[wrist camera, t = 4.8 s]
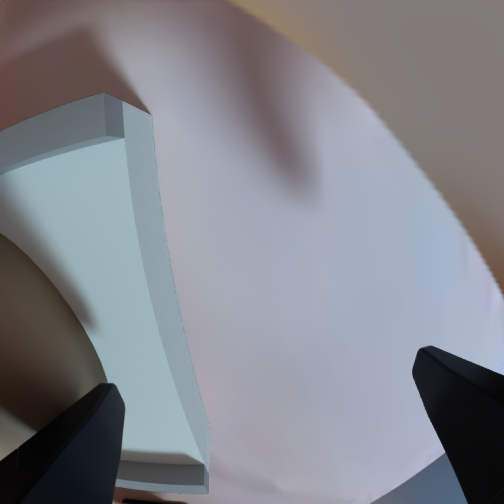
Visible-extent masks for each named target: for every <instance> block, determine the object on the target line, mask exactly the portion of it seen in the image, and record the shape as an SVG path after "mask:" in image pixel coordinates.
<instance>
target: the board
mask: <svg viewBox="0 0 504 504" xmlns="http://www.w3.org/2000/svg"><path fill="white" fill-rule="evenodd" d="M0 233H1V234H2V235H4V236H5V237H6V238H8V239H9V240H11V241H12V242H13V243H14V244H16V245H17V246H18V247H19V248H20V249H21V250H22V251H23V252H24V253H25V254H27V255H28V256H29V257H30V258H31V260H32V261H33V262H34V263H35V264H36V265H37V266H38V267H39V268H40V269H41V270H42V271H43V272H44V274H45V275H46V276H47V277H48V278H49V280H50V281H51V282H52V283H53V285H54V286H55V287H56V288H57V289H58V291H59V292H60V294H61V295H62V296H63V298H64V299H65V300H66V302H67V303H68V305H69V306H70V307H71V309H72V310H73V312H74V313H75V315H76V317H77V318H78V320H79V321H80V323H81V324H82V326H83V327H84V329H85V331H86V333H87V335H88V337H89V338H90V340H91V342H92V344H93V346H94V348H95V350H96V352H97V354H98V357H99V359H100V361H101V363H102V366H103V369H104V372H105V375H106V377H107V382H108V383H114V384H115V385H116V386H117V388H118V390H119V392H120V394H121V397H122V399H123V401H124V403H125V419H124V429H123V439H122V450H121V457H120V463H119V468H118V473H117V479H116V484H115V486H116V487H122V488H129V489H136V490H145V491H154V492H166V493H185V494H209V444H210V428H209V425H208V421H207V418H206V415H205V411H204V408H203V404H202V401H201V397H200V394H199V390H198V387H197V383H196V379H195V375H194V371H193V368H192V364H191V360H190V356H189V351H188V347H187V343H186V339H185V335H184V330H183V326H182V321H181V317H180V312H179V307H178V302H177V298H176V293H175V287H174V282H173V277H172V272H171V266H170V260H169V255H168V249H167V243H166V237H165V230H164V224H163V217H162V210H161V202H160V195H159V187H158V178H157V170H156V160H155V150H154V139H153V127H152V115H150V114H148V113H146V112H144V111H142V110H140V109H138V108H136V107H134V106H132V105H130V104H128V103H126V102H124V101H122V100H120V99H117V98H115V97H113V96H111V95H109V94H107V93H105V92H103V93H99V94H96V95H93V96H89V97H86V98H83V99H80V100H77V101H74V102H71V103H68V104H65V105H62V106H59V107H56V108H54V109H51V110H48V111H46V112H43V113H41V114H38V115H36V116H33V117H31V118H28V119H26V120H24V121H22V122H19V123H17V124H15V125H13V126H10V127H8V128H6V129H4V130H2V131H0Z"/></svg>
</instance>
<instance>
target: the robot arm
mask: <svg viewBox="0 0 504 504" xmlns="http://www.w3.org/2000/svg"><path fill="white" fill-rule="evenodd" d="M412 375H413V379H414V381H415V384H416V386H417V389H418V391H419V394H420V396H421V399H422V401H423V404H424V407H425V410H426V412H427V414H428V417H429V419H430V421H431V423H432V425H433V427H434V429H435V431H436V433H437V435H438V437H439V439H440V441H441V444H442V446H443V448H444V450H445V452H446V454H447V456H448V458H449V461H450V463H451V465H452V467H453V470H454V472H455V474H456V476H457V479H458V481H459V483H460V486H461V488H462V491H463V493H464V496H465V498H466V500H467V503H468V504H504V375H502V374H499V373H497V372H494V371H492V370H489V369H487V368H484V367H482V366H480V365H477V364H475V363H472V362H470V361H467V360H465V359H463V358H460V357H458V356H455V355H453V354H451V353H448V352H446V351H443V350H441V349H439V348H436V347H434V346H426V347H423V348H420V349H419V350H418V352H417V355H416V359H415V362H414V365H413V369H412ZM124 419H125V403H124V401H123V399H122V397H121V394H120V392H119V390H118V388H117V386H116V385H115V384H114V383H108V382H101V383H99V384H98V385H97V386H96V387H94V388H93V389H92V390H90V391H89V392H88V393H87V394H85V395H84V396H83V397H82V398H80V399H79V400H78V401H77V402H75V403H74V404H73V405H71V406H70V407H69V408H68V409H66V410H65V411H64V412H63V413H61V414H60V415H59V416H57V417H56V418H55V419H54V420H52V421H51V422H50V423H48V424H47V425H46V426H45V427H43V428H42V429H41V430H40V431H38V432H37V433H36V434H34V435H33V436H32V437H31V438H29V439H28V440H27V441H25V442H24V443H23V444H21V445H20V446H19V447H18V448H16V449H15V450H14V451H12V452H11V453H10V454H8V455H7V456H6V457H4V458H3V459H2V460H0V504H112V502H113V496H114V490H115V484H116V479H117V473H118V468H119V463H120V457H121V450H122V439H123V429H124ZM122 504H153V503H144V502H137V501H130V500H123V502H122Z"/></svg>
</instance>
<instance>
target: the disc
mask: <svg viewBox="0 0 504 504" xmlns="http://www.w3.org/2000/svg"><path fill="white" fill-rule="evenodd" d="M101 382H107V377H106V375H105V372H104V369H103V366H102V363H101V361H100V359H99V357H98V354H97V352H96V350H95V348H94V346H93V344H92V342H91V340H90V338H89V337H88V335H87V333H86V331H85V329H84V327H83V326H82V324H81V323H80V321H79V320H78V318H77V317H76V315H75V313H74V312H73V310H72V309H71V307H70V306H69V305H68V303H67V302H66V300H65V299H64V298H63V296H62V295H61V294H60V292H59V291H58V289H57V288H56V287H55V286H54V285H53V283H52V282H51V281H50V280H49V278H48V277H47V276H46V275H45V274H44V272H43V271H42V270H41V269H40V268H39V267H38V266H37V265H36V264H35V263H34V262H33V261H32V260H31V258H30V257H29V256H28V255H27V254H25V253H24V252H23V251H22V250H21V249H20V248H19V247H18V246H17V245H16V244H14V243H13V242H12V241H11V240H9V239H8V238H6V237H5V236H4V235H2V234H1V233H0V460H2V459H3V458H4V457H6V456H7V455H8V454H10V453H11V452H12V451H14V450H15V449H16V448H18V447H19V446H20V445H21V444H23V443H24V442H25V441H27V440H28V439H29V438H31V437H32V436H33V435H34V434H36V433H37V432H38V431H40V430H41V429H42V428H43V427H45V426H46V425H47V424H48V423H50V422H51V421H52V420H54V419H55V418H56V417H57V416H59V415H60V414H61V413H63V412H64V411H65V410H66V409H68V408H69V407H70V406H71V405H73V404H74V403H75V402H77V401H78V400H79V399H80V398H82V397H83V396H84V395H85V394H87V393H88V392H89V391H90V390H92V389H93V388H94V387H96V386H97V385H98V384H99V383H101Z"/></svg>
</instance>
